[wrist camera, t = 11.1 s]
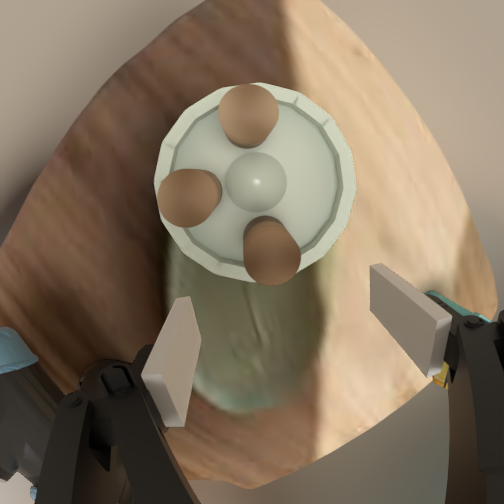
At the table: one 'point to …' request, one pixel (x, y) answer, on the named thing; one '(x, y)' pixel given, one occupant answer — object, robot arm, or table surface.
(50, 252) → the table surface
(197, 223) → the brown rounded cylinder
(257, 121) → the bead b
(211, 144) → the tray
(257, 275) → the brown stubby piece
